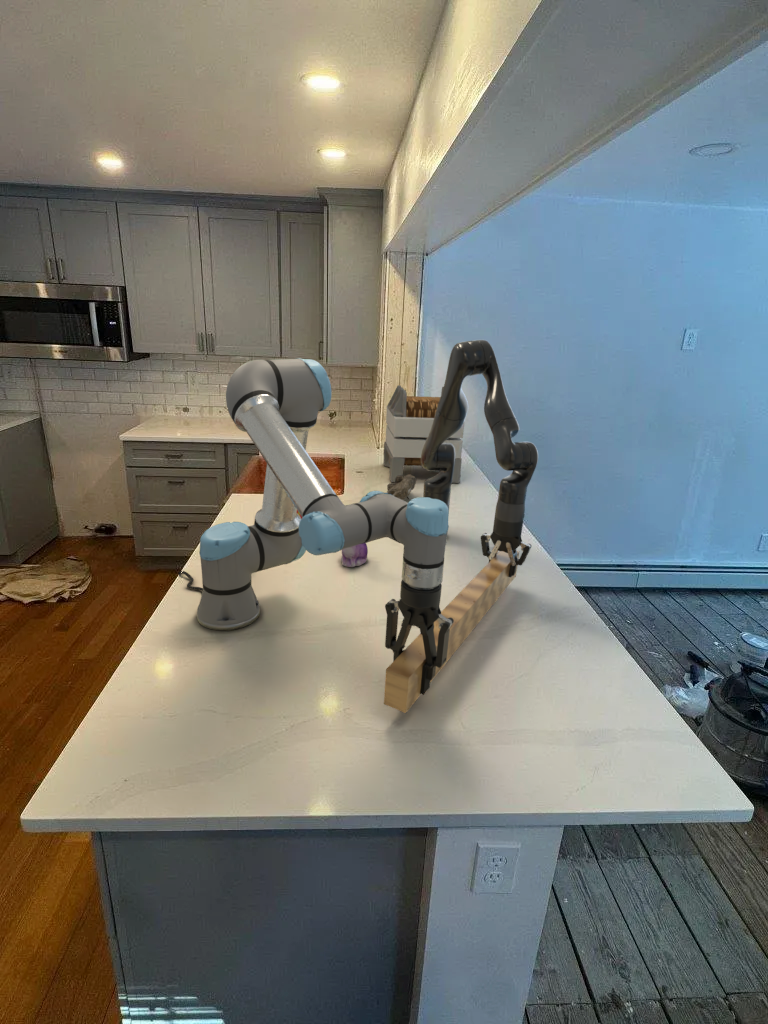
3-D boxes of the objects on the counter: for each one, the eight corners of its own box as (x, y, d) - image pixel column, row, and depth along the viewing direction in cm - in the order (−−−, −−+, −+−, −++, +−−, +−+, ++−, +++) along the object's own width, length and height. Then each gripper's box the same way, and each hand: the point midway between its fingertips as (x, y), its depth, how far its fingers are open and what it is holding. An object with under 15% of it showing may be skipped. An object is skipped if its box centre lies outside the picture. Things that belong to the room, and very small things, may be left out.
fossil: (383, 480, 246) (411, 461, 241) (396, 497, 249) (424, 478, 244) (377, 501, 226) (408, 481, 221) (392, 519, 229) (422, 500, 224)
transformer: (382, 463, 289) (386, 382, 275) (445, 464, 293) (451, 384, 279) (390, 482, 257) (394, 392, 243) (460, 483, 261) (468, 394, 247)
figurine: (346, 570, 170) (347, 523, 165) (333, 557, 178) (334, 512, 173) (374, 565, 174) (376, 519, 169) (360, 552, 183) (362, 509, 178)
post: (499, 572, 165) (503, 547, 162) (515, 576, 162) (519, 551, 160) (383, 704, 108) (385, 669, 105) (405, 713, 106) (408, 677, 103)
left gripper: (369, 575, 105) (364, 679, 114) (458, 603, 97) (445, 713, 106) (389, 561, 112) (382, 661, 120) (474, 586, 104) (461, 691, 112)
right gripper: (478, 514, 150) (471, 571, 156) (532, 526, 144) (522, 586, 150) (488, 506, 157) (481, 562, 163) (539, 517, 150) (530, 575, 156)
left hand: (412, 685), depth 113 cm, fingers closed on post, 5 cm apart
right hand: (501, 573), depth 156 cm, fingers closed on post, 4 cm apart
